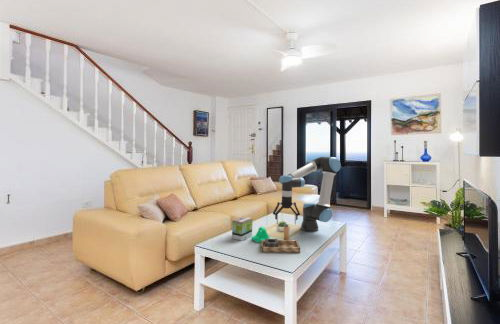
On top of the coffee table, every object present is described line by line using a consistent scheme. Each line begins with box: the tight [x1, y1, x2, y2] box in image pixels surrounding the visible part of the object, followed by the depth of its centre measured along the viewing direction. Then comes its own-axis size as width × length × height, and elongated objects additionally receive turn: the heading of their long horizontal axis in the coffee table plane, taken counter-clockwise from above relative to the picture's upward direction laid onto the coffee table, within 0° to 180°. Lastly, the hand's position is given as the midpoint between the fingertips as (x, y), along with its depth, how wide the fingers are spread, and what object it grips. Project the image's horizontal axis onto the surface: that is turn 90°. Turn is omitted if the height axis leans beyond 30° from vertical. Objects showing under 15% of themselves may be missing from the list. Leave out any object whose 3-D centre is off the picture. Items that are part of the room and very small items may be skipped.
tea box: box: [231, 216, 253, 242], centre depth 207 cm, size 15×10×15 cm, turn 148°
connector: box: [283, 223, 290, 240], centre depth 197 cm, size 4×4×14 cm
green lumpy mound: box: [251, 226, 271, 244], centre depth 200 cm, size 12×8×10 cm, turn 54°
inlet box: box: [260, 238, 301, 254], centre depth 184 cm, size 26×14×6 cm, turn 89°
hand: (286, 223), depth 196 cm, fingers open, 13 cm apart
